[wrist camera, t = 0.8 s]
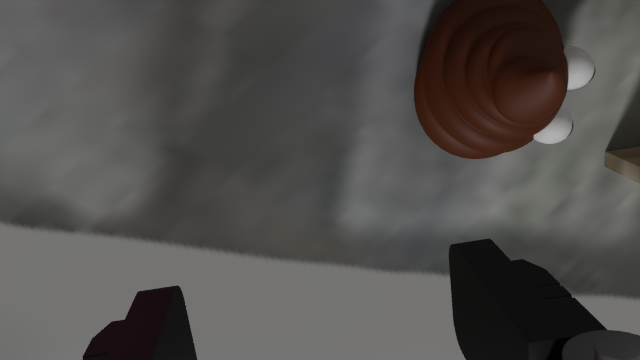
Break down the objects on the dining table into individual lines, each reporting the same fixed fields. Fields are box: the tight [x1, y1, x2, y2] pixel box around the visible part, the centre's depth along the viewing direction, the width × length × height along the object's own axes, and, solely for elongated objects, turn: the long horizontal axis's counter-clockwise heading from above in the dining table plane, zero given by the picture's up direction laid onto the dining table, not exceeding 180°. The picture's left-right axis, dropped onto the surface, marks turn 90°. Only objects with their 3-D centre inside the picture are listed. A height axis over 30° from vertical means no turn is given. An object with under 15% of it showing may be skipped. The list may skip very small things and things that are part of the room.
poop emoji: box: [414, 0, 595, 159], centre depth 32 cm, size 10×8×9 cm
